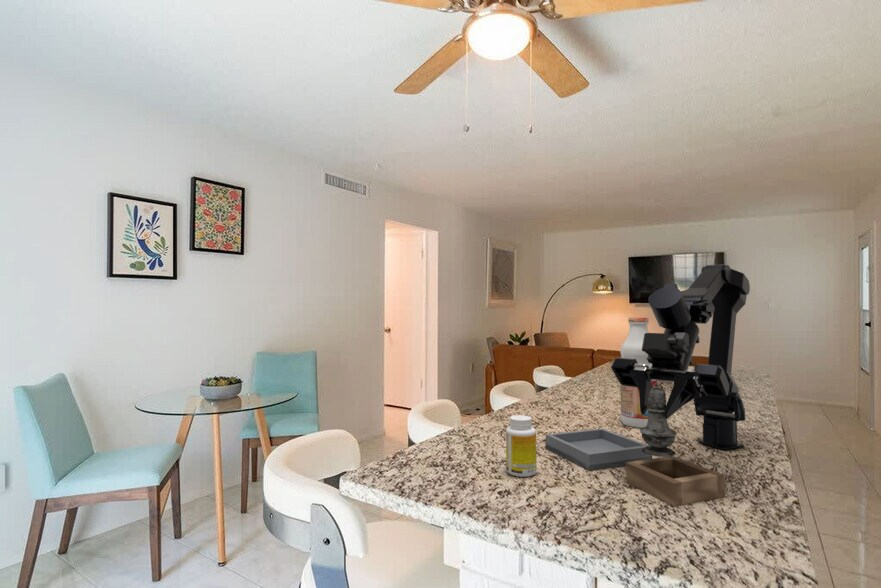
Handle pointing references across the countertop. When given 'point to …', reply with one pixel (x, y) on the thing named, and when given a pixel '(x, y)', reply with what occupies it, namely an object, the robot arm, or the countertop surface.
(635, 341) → the fruit juice
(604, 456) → the charcoal tray
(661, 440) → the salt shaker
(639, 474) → the walnut collar
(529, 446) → the supplement bottle
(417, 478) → the countertop surface
